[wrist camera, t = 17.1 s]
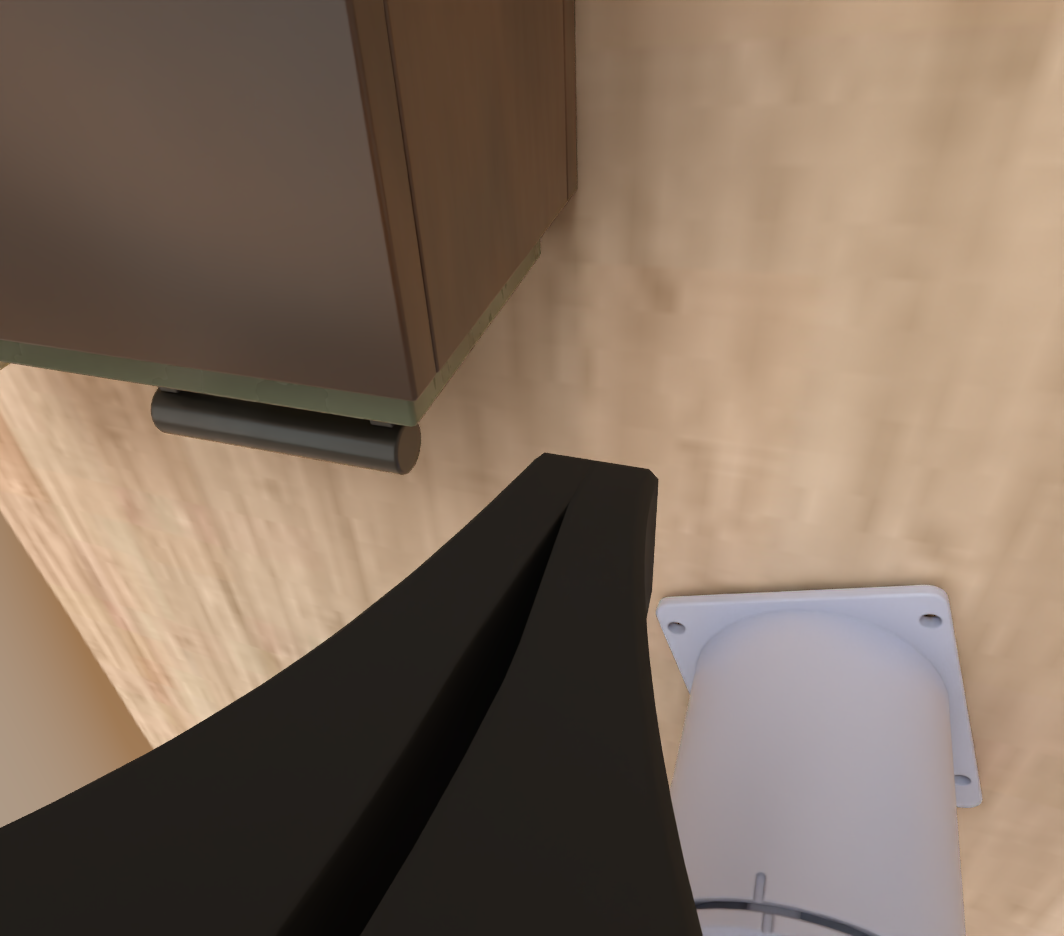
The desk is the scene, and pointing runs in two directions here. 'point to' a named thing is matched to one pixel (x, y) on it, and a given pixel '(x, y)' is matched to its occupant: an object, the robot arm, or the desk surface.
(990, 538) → the desk surface
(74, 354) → the drawer
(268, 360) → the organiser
